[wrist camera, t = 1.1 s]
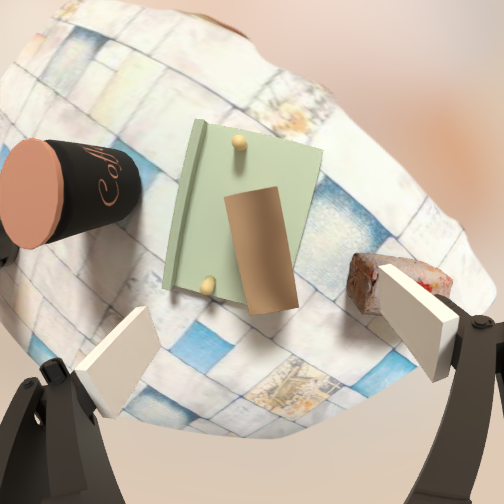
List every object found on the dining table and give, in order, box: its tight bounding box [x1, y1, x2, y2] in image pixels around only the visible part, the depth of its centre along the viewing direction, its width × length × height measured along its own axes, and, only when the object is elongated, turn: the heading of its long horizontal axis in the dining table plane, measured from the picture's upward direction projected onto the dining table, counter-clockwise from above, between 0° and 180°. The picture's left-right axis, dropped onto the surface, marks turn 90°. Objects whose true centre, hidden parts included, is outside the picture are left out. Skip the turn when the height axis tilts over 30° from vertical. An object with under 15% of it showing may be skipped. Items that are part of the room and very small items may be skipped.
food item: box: [347, 253, 453, 316], centre depth 32 cm, size 14×8×10 cm, turn 83°
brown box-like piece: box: [224, 186, 299, 316], centre depth 31 cm, size 5×12×9 cm, turn 11°
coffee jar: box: [0, 138, 140, 250], centre depth 27 cm, size 11×11×18 cm
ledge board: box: [162, 119, 324, 312], centre depth 34 cm, size 16×22×4 cm
